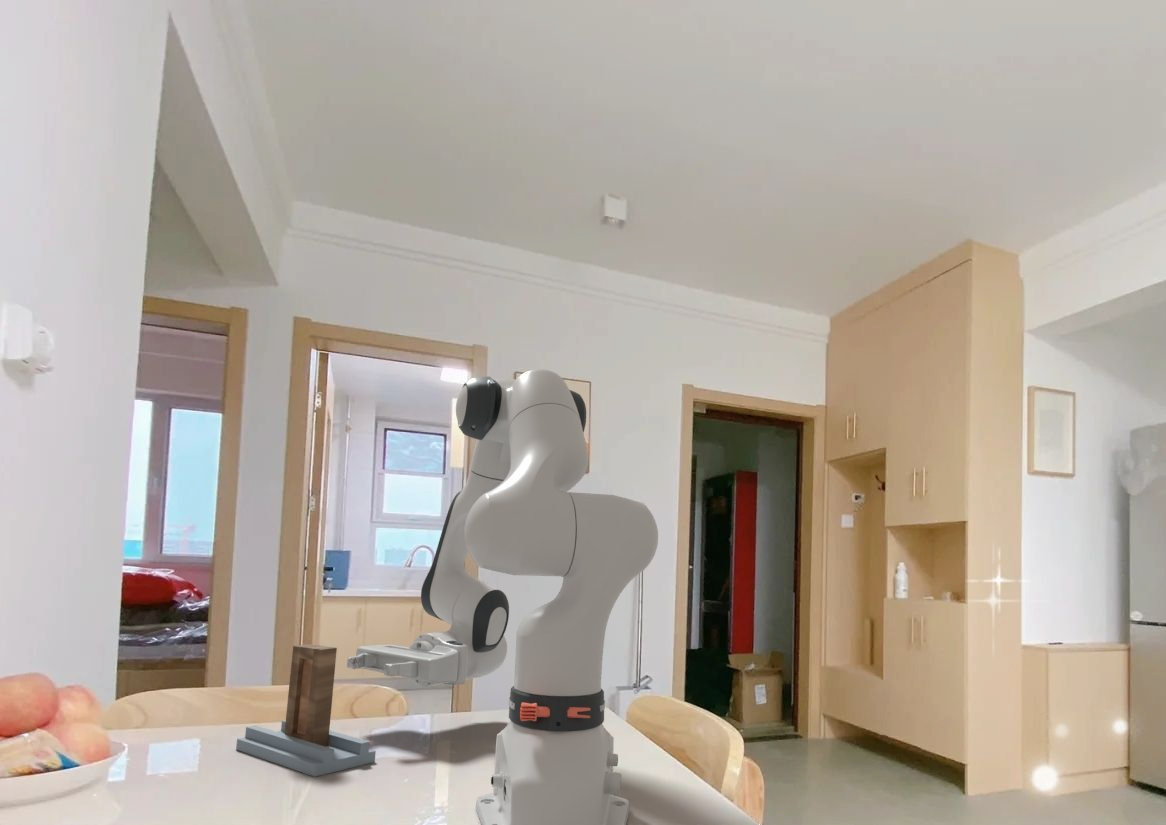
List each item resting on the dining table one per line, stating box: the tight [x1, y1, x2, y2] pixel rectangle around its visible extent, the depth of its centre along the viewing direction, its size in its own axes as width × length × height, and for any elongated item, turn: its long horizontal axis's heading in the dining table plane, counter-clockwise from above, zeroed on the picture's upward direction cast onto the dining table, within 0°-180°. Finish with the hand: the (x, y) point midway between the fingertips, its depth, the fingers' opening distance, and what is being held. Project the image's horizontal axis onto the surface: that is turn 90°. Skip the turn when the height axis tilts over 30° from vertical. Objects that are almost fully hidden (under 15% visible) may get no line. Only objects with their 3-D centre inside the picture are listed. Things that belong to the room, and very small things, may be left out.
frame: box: [284, 643, 338, 747], centre depth 113 cm, size 6×3×14 cm, turn 62°
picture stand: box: [235, 719, 376, 778], centre depth 111 cm, size 20×10×3 cm, turn 53°
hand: (367, 666), depth 121 cm, fingers open, 8 cm apart
